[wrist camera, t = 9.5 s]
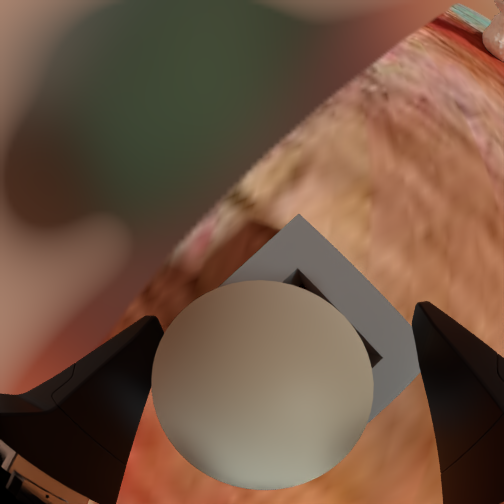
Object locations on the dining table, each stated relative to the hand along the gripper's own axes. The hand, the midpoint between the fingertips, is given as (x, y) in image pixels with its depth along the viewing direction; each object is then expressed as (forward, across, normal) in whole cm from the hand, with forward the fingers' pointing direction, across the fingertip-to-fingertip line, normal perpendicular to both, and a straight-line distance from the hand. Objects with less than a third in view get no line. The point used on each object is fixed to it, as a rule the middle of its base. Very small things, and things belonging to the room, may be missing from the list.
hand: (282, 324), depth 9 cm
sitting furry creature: (+29, -35, -17) cm, 48 cm away
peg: (+5, 0, +7) cm, 8 cm away
